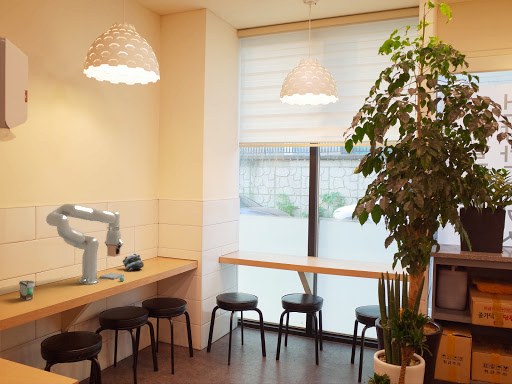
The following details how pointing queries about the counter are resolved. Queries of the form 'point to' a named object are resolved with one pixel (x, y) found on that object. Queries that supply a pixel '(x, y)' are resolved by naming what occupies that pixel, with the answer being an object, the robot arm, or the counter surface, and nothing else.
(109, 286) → the counter surface
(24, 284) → the food container
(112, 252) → the peach rectangular block
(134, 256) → the lucky cat figurine
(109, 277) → the slate board
